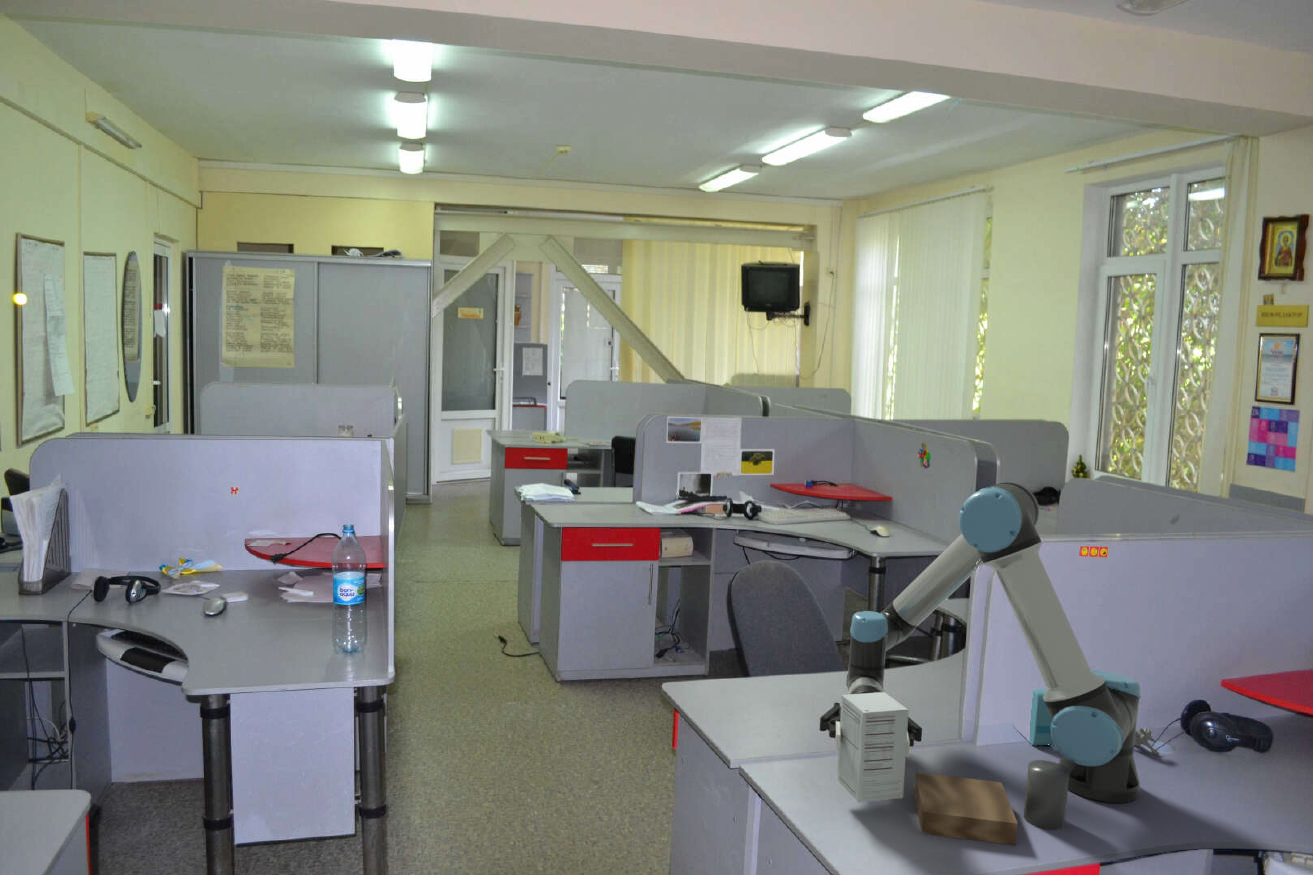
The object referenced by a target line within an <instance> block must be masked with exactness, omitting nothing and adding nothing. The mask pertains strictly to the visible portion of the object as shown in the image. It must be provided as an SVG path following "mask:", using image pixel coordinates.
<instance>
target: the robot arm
mask: <svg viewBox="0 0 1313 875" xmlns="http://www.w3.org/2000/svg"><path fill="white" fill-rule="evenodd" d="M1039 517H1040V506H1039V503H1038V499H1037V498H1036V496H1035V495H1034V494H1033V492H1031V490H1030V489H1028V488H1027V487H1026V486H1024V485H1022V484H1019V483H1015V482H1008V481H1007V482H1000V483H997V484H994V485H992V486H988V487H985V488H981V489H980V490H977V491H976V492H974V493H973V494H972V495H970V496H969V497H968V498H967V499H965V501H964V503H963V504H962V506H961V508H960V511H959V515H958V527H959V530H960V535H959V536H958V537H957V538H956V539H954V541H953V542H951V543H950V545H949V546H948V547H947V548H946V549H945V550H943V551H942V553H940V554H939V555H938V556H937V558H936V559H934V560H933V561H932V562H931V563H930V564H929V565H928V566H927V567H926V568H925V569H924V570H923V571H922V572H921V573H920V574H919V575H918V576H917V577H916V578H914V580H912V581H911V583H910V584H909V585H908V586H907V587H906V588H904V590H903V591H902V592H901V593H900V594H899V595H898V596H897V597H895V599H893V600H892V602H890V603H889V604H888V605H887V606H886V607H885V608H884V609H883V610H882V611H880V612H876V611H871V610H864V611H857V612H856V613H854V614H853V615H852V619H851V625H850V629H849V630H850V631H849V632H850V638H849V640H850V642H849V658H848V668H847V669H848V670H847V674H846V683H845V684H846V687H847V691H848V692H847V695H848V694H864V693H877V692H885V689H884V680H885V667H886V666H885V665H886V652H887V651H889V650H891V649H892V648H894V647H895V646H896V645H898V644H901V643H903V642H904V641H906V640H907V639H908V638H909V637H910V636H911V635H912V634H913V632H914V631H915V629H917V627H918V626H919V625H920V624H922V622H924V621H925V620H926V619H927V618H928V617H929V616H930V615H931V614H932V613H933V612H934V611H935V610H936V609H938V607H939V606H940V605H942V604H943V603H944V602H945V601H946V600H947V599H948V598H949V597H950V596H952V594H953V593H955V591H957V590H958V589H959V588H961V586H962V585H963V584H964V583H966V581H967V580H968V579H969V578H970V577H971V576H972V575H973V574H974V573H973V571H976V569H977V568H978V566H979V565H980V566H981V565H982V566H983V565H985V566H987V567H988V568H992V569H993V570H994V572H995V573H996V575H997V577H998V580H999V582H1000V585H1001V587H1002V589H1003V591H1004V593H1005V596H1006V598H1007V600H1008V603H1009V604H1010V607H1011V609H1012V612H1013V614H1014V616H1015V618H1016V621H1017V622H1018V625H1019V627H1020V629H1021V632H1022V634H1023V637H1024V638H1025V640H1026V643H1027V645H1028V648H1029V650H1030V652H1031V655H1032V656H1033V659H1034V661H1035V664H1036V666H1037V668H1038V670H1039V672H1040V675H1041V677H1042V680H1043V681H1044V682H1043V683H1044V684H1045V685H1046V686H1047V689H1046V692H1045V694H1044V697H1043V700H1044V702H1045V704H1046V707H1047V709H1048V711H1049V714H1050V716H1051V718H1052V723H1051V737H1052V740H1053V743H1054V744H1053V745H1054V746H1055V748H1056V750H1058V752H1059V753H1060V754H1061V757H1060V760H1059V761H1058V764H1060V765H1062V766H1064V767H1065V768H1067V769H1068V770H1069V782H1068V791H1070V792H1073V793H1074V794H1077V795H1079V796H1081V797H1083V798H1087V799H1091V800H1094V801H1099V802H1103V803H1104V802H1106V803H1113V804H1115V803H1117V804H1120V803H1121V804H1122V803H1130V802H1133V801H1135V800H1137V799H1138V798H1139V793H1140V780H1139V775H1138V771H1137V766H1136V763H1135V757H1134V749H1135V745H1134V742H1135V733H1136V731H1137V721H1138V720H1137V719H1138V713H1139V705H1140V704H1139V703H1140V702H1139V701H1140V699H1141V696H1142V695H1141V694H1140V693H1141V686H1140V684H1139V683H1138V681H1137V680H1135V679H1134V678H1131V677H1129V676H1126V675H1123V674H1120V673H1116V672H1111V671H1106V670H1101V669H1091V667H1090V666H1089V663H1088V661H1087V659H1086V656H1085V653H1083V650H1082V648H1081V646H1080V644H1079V641H1078V639H1077V637H1076V634H1075V632H1074V631H1073V628H1072V626H1071V623H1070V621H1069V618H1068V617H1067V615H1066V613H1065V611H1064V608H1063V606H1062V604H1061V601H1060V599H1059V597H1058V594H1057V592H1056V590H1055V588H1054V586H1053V584H1052V582H1051V580H1050V577H1049V575H1048V573H1047V570H1046V569H1045V566H1044V564H1043V561H1042V559H1041V557H1040V556H1039V552H1040V549H1041V546H1042V544H1043V542H1042V540H1041V538H1040V537H1041V536H1040V535H1039V533H1038V530H1037V528H1036V526H1037V523H1038V521H1039ZM979 559H980V561H979ZM977 561H979V562H978V564H977V565H976V562H977ZM982 566H981V567H982ZM975 567H976V569H975ZM981 567H979V569H980V568H981ZM976 572H977V571H976ZM840 719H841V702H833V707H831V708H830V709H828V710H827V711H826V712H825V713H824V714H823V715H821V716H820V718H819V731H820V732H826V731H828V737H829V738H831V739H834V740H835V742H834V743H835V745H834V746H835V750H839V749H840V736H841V734H840ZM922 736H923V728H922V727H921V726H920V724H917V722H915V721H914V720H913V719H912V718H911V717H909V716H908V727H907V742H906V758H909V757H910V749H911V748H910V747H914V746H915V742H922Z"/></svg>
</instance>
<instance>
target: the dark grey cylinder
mask: <svg viewBox="0 0 1313 875" xmlns="http://www.w3.org/2000/svg"><path fill="white" fill-rule="evenodd" d="M1027 767H1028V768H1027V776H1026V787H1025V798H1024V807H1023V818H1024V820H1025V821H1026V822H1027V823H1029V824H1030V825H1032V826H1034V827H1036V828H1039V829H1043V830H1050V831H1055V830H1057V831H1058V830H1060V829H1063V828H1064V827H1065V820H1066V812H1067V811H1066V808H1067V802H1068V800H1067V799H1068V791H1069V790H1068V782H1069V770H1068V769H1067V768H1065V767H1064V766H1062V765H1060V764H1059V763H1057V762H1054V761H1050V760H1042V759H1036V760H1032V761H1030V762H1029V763H1028V766H1027Z"/></svg>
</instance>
